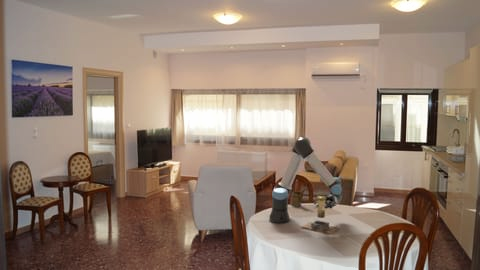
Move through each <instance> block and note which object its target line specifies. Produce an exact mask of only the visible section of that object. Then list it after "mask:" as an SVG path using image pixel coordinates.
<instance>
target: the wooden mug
mask: <svg viewBox="0 0 480 270" xmlns="http://www.w3.org/2000/svg"><path fill="white" fill-rule="evenodd" d="M305 189H306V185H304V186H302V187H301V189H299V191H298V190H293V191H291V198H290V202H289V205H290V206H294V207H297V206H301V205H302V204H301V203H302V202H301V200H302V199H303V196H304V193H303V191H304V190H305Z"/></svg>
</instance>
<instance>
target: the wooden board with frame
mask: <svg viewBox="0 0 480 270" xmlns="http://www.w3.org/2000/svg"><path fill="white" fill-rule="evenodd" d="M301 229H303V230H308V231H314V232H319V233H323V234H329V235H333V234H334V233H336V232H337V231H338V230H339V229H340V228H339V226H333V225H330V222H327V221H324V220H317V219H315V220H314V221H313V222H311V221H309V222H307V223H306V224H304V225H302V226H301Z"/></svg>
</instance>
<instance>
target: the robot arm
mask: <svg viewBox="0 0 480 270" xmlns="http://www.w3.org/2000/svg"><path fill="white" fill-rule="evenodd" d="M291 153H292V154H291V157H290V159H289V162H288V165H287V166H286V168H285V171H284V173H283V176H282V179H281V180H280V182H278V183H277V186H276V187H275V188H274V189H273V190H272V193H271V195H272V196H271V197H272V199H271V200H272V201H271V202H272V203H271V212H270V214H269V217H268V218H269V219H268V220H269V221H270V222H271V223H274V224H287V223H289V222H290V220H291V219H290V214H289V211H288V208H289V207H288V206H289V198H290V195H291V194H292V190H293V187H292V185H293V183H294V181H295V178H296V176H297V174H298V171H299V169H300V166H301V163H302V162H303V160H306V162H307V163H308V164H309V165H310V167H311V168H312V170H313V171H314V172H315V173H316V174H317V175H318V176H319V177H320V179H321V181H323V183H325V185H326V186H327V188H328V189H329V195H328V196H325V197H326V199H325V205H323V206H322V210H324V209H325V210H326V209H333V208H334V207H336V206H337V204H338V203H339V202H340V201H341V200H342V198H343V197H342V194H341V193H342V190H343V189H342V186H341V178H340V177H336V176H335V177H334V176H333V175H332V174H331V173H330V171H329V170H328V169H327V168H326V166H325V165H324V164H323V162H322V161H321V160H320V159H319V157H318V156H317V155H316V154H315V150H314V149H313V148H312V145H311V141H310V139H309V138H307V137H305V136H299V137H297V138H296V140H295V141H294V145H293V146H292V149H291ZM313 204H314V205H313V209H314V210H316V209H318V200H316V201H314V203H313Z"/></svg>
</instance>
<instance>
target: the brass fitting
mask: <svg viewBox="0 0 480 270" xmlns="http://www.w3.org/2000/svg"><path fill="white" fill-rule="evenodd" d="M326 197H327V196H324V195H317V196H316V199H317V201H318V208H317V211H316V212H317V213H316V216H317V218H321V219H323V218H325V217H326V209H324V210H322V206H323V205H325V199H326Z"/></svg>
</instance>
